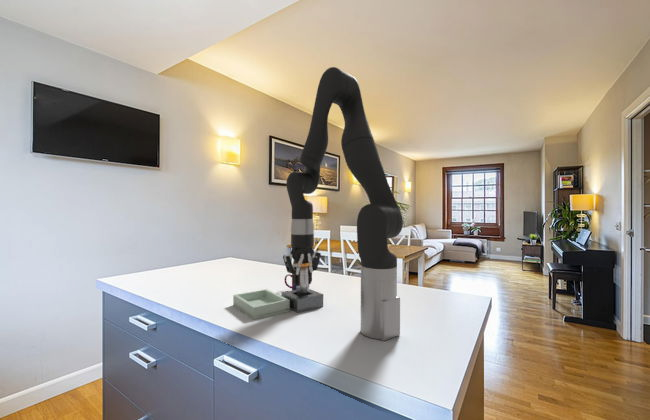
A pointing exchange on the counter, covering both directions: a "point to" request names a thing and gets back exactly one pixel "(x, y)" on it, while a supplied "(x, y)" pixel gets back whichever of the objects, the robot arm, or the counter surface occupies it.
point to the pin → (303, 280)
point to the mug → (292, 282)
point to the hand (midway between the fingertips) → (302, 284)
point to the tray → (261, 303)
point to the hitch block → (304, 300)
